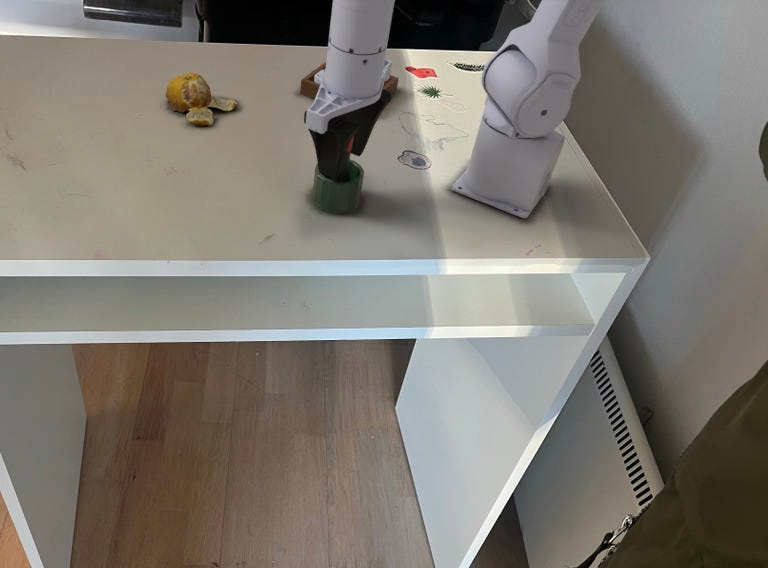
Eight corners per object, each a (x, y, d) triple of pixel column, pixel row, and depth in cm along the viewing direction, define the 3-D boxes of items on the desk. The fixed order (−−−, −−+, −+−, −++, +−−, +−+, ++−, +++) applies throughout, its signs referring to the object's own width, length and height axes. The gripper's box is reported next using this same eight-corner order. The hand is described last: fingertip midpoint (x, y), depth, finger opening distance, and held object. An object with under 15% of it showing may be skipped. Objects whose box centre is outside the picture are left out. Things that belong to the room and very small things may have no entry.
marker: (347, 195, 86) (356, 133, 80) (339, 203, 85) (348, 140, 79) (333, 189, 87) (341, 127, 81) (324, 197, 86) (332, 134, 80)
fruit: (201, 131, 94) (200, 104, 91) (150, 108, 97) (149, 81, 94) (240, 106, 99) (241, 79, 96) (191, 85, 102) (191, 59, 99)
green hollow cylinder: (367, 197, 87) (372, 168, 84) (344, 220, 84) (349, 190, 81) (327, 180, 89) (330, 151, 86) (303, 202, 86) (306, 172, 83)
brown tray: (396, 91, 105) (398, 77, 103) (365, 118, 99) (367, 104, 98) (333, 68, 108) (334, 55, 106) (299, 93, 102) (301, 79, 101)
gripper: (357, 6, 78) (341, 123, 88) (283, 55, 70) (274, 180, 80) (418, 25, 76) (394, 144, 86) (349, 79, 67) (332, 204, 77)
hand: (340, 163), depth 83 cm, fingers open, 5 cm apart
